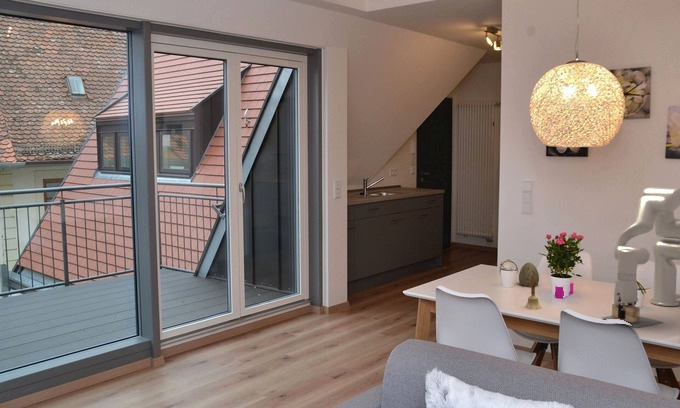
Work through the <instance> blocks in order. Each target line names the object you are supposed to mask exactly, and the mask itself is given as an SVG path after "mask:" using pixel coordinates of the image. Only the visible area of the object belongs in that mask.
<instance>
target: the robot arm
mask: <svg viewBox="0 0 680 408" xmlns="http://www.w3.org/2000/svg"><path fill="white" fill-rule="evenodd" d="M679 207H680V188H678V187H658V186H655V187H654V186H652V187H651V186H649V187H645V188H644V189H643V190H642V196H641V197H639V200H638V203H637V205H636V210H635V213H634V217H633V221H632V224H631V225H629V226H628V227H626V229H624V230H623V231H622V232H621V233H620V234H619V236H618V237H617V240H616V243H615V246H614V252H613V253H614V254H613V256H614V259H615V260H616V261H617V279H616V280H615V286H614V294H613V304H615V305H616V307H617V309H618V318H620V319H625V310H624V308H625V304H627V305H631V306H635V307H636V305H637V303H638V302H639V298H638V283H637V268H638V267H637V266H638V265H645V264H646V263H648V261H649V260H650V257H651V256H650V252H649V250H648V249H647V248H645V247H640V246H639V247H638V246H630V245H627V243H628V242H629V241H630V240H631V239H634V238H635V237H638V236H641V235H644V234H647V233H649V232H651V231H652V230H653V229H654V230H655V234H656V236H657V237H659V239H657V240H655V241H654V243H653V246H652V250H653V251H652V252H653V258H654V276H653V277H654V278H653V279H654V281H653V282H654V286H653V298H651V299H650V301H649V303H651V304H653V305H658V306H663V307H677V306H679V305H680V302H679V301H678V300H677V299H680V293H679V294H677V275H678V274H677V272H678V271H677V269H678V268H677V266H676V264H675V262H674V261H680V218H676V217H675V210H677V209H678V208H679ZM660 238H661V239H660ZM621 304H622V306H621Z"/></svg>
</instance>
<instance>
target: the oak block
mask: <svg viewBox="0 0 680 408" xmlns="http://www.w3.org/2000/svg"><path fill="white" fill-rule="evenodd" d="M611 306H612V309H611V316H612V318H616V319H620V318H618V309H617V307H616V305H615V304H614V303H613V304H612V305H611ZM621 306H622V304H621ZM624 310H625V319H620V320H624V321H628V322H637V321H639V319H640V316H641V314H640V313H641V307H639V306H636V305H635V306H631V305H627V303H626V304H625V308H624Z"/></svg>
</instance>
